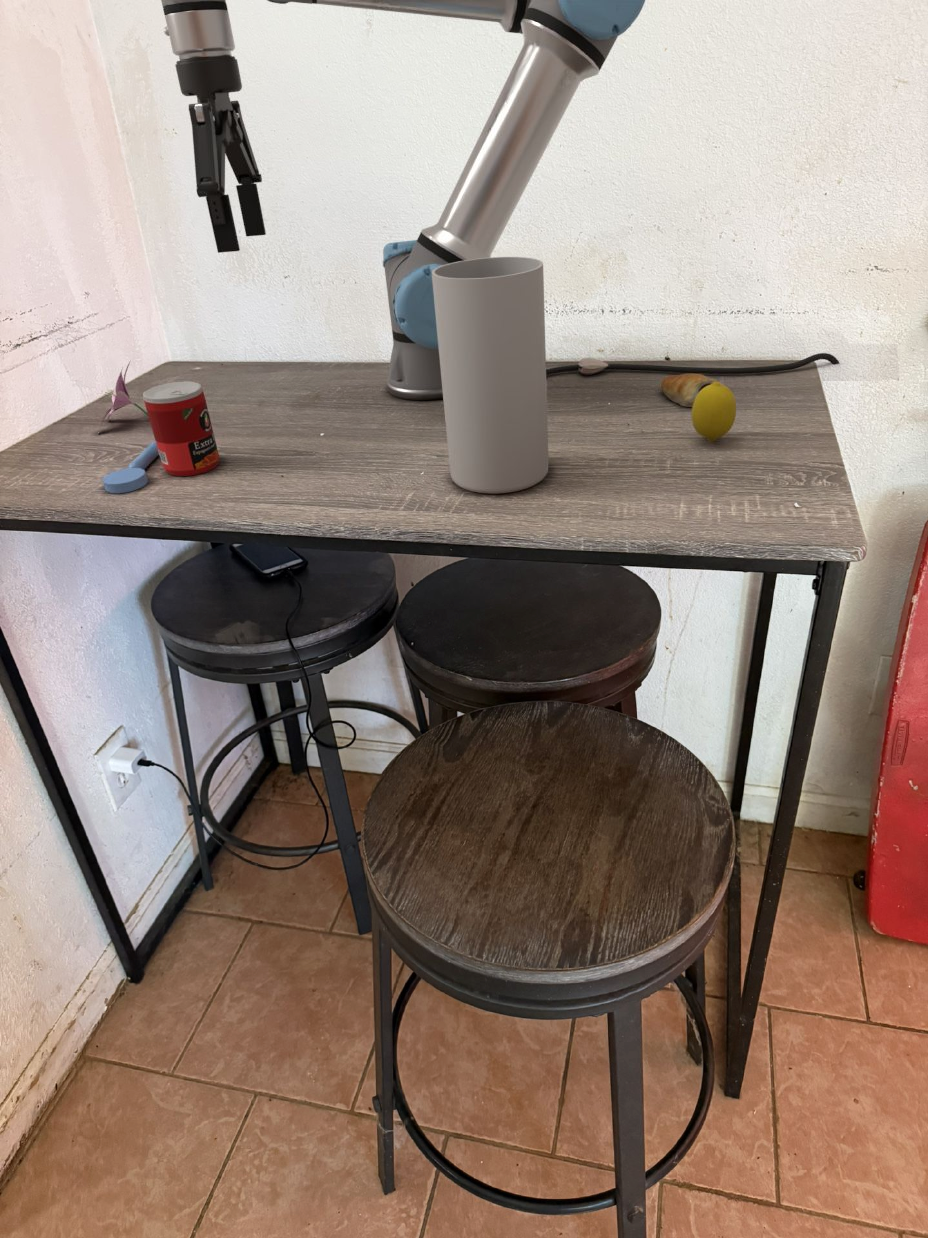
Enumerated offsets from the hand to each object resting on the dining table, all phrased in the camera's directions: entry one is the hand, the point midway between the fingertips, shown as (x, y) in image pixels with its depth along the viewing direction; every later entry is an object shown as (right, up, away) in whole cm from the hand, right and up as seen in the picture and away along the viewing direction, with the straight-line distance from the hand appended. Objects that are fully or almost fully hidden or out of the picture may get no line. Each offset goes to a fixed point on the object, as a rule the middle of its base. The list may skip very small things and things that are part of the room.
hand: (243, 243), depth 115 cm
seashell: (+52, -10, +27) cm, 59 cm away
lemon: (+63, -28, -3) cm, 69 cm away
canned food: (-8, -30, +4) cm, 31 cm away
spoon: (-15, -29, +6) cm, 33 cm away
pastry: (+64, -18, +12) cm, 68 cm away
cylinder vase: (+35, -33, -7) cm, 49 cm away
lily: (-25, -19, +24) cm, 40 cm away
